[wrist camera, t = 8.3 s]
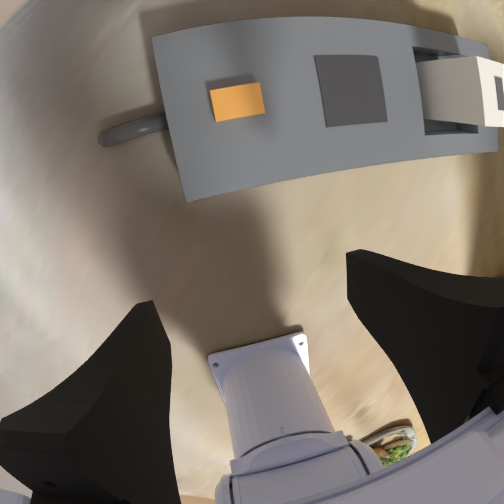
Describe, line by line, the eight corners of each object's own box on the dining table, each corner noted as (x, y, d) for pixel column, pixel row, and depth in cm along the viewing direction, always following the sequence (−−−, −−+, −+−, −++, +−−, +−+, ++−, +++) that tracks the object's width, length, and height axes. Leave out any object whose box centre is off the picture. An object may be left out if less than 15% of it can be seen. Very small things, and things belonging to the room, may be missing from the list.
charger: (447, 117, 18) (518, 128, 12) (411, 118, 18) (486, 126, 12) (441, 68, 17) (511, 66, 10) (404, 64, 16) (477, 55, 10)
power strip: (462, 47, 16) (492, 44, 13) (474, 145, 20) (504, 152, 17) (87, 73, 14) (65, 64, 11) (119, 209, 18) (103, 227, 15)
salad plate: (291, 463, 34) (299, 490, 30) (408, 401, 34) (424, 425, 29) (328, 489, 42) (336, 508, 38) (414, 443, 42) (425, 461, 38)
